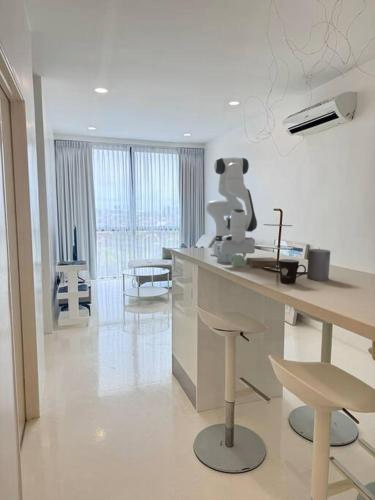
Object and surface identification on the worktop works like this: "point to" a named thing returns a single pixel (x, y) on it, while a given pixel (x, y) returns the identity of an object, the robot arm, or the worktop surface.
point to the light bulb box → (222, 256)
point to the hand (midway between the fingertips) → (236, 261)
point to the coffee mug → (289, 270)
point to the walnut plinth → (261, 262)
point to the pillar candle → (318, 264)
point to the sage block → (237, 260)
